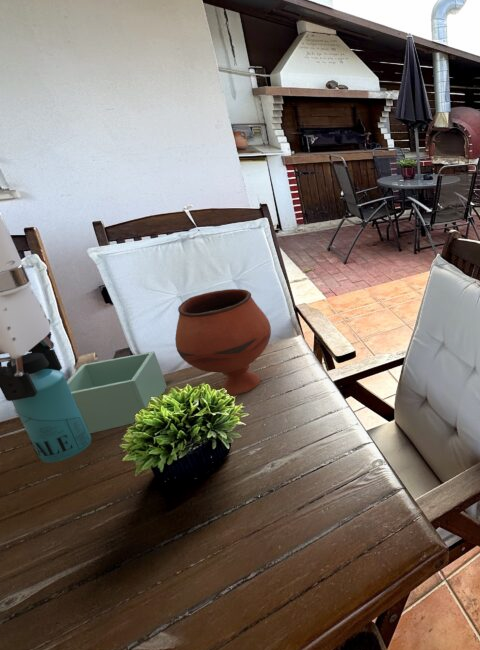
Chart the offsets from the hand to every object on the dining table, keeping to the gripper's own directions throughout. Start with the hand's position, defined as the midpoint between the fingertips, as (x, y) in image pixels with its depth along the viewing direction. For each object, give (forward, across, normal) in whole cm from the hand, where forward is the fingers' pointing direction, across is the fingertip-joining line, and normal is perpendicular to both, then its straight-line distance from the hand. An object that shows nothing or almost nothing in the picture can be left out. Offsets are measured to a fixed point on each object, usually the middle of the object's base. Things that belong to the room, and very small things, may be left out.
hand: (36, 383), depth 64 cm
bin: (+26, -29, -4) cm, 39 cm away
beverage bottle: (+15, 0, 0) cm, 15 cm away
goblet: (+25, -28, +20) cm, 43 cm away
